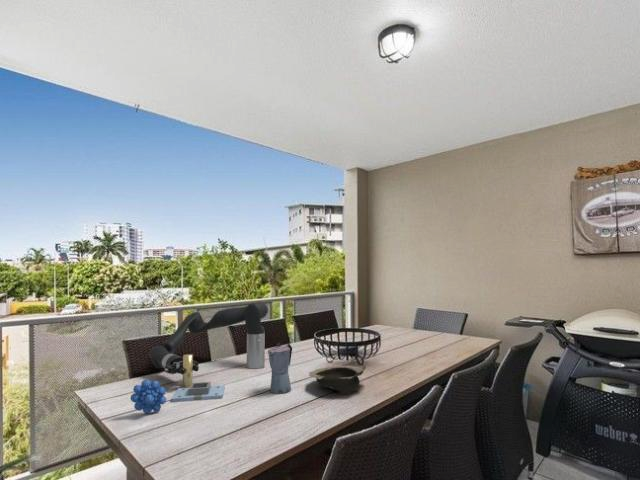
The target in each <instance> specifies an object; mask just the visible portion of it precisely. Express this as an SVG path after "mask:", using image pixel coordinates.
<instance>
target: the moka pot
mask: <svg viewBox="0 0 640 480" xmlns="http://www.w3.org/2000/svg"><path fill="white" fill-rule="evenodd" d="M281 344H282V343H281V342H280V341H279V342H277V343H276V346H274V347H270V348H268V350H267V353H268V354H267V355H268V359H269V367H270V369H271V377H270V378H271V379H270V380H271V381H270V390H269V391H270V392H271V393H272V394H276V395H279V394H285V393H288V392H290V391H291V390H292V385H291V381H290V380H291V379H290V374H289V366H291V359H292V353H293V347H292V346H291V344H290V343H288V344H285V345H281Z"/></svg>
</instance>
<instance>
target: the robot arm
mask: <svg viewBox="0 0 640 480" xmlns="http://www.w3.org/2000/svg"><path fill="white" fill-rule="evenodd" d="M268 313H269V307H268V306H267V303H265V302H263V301H256V302H250V303H249V304H247V306H243V307H242V306H241V307H240V306H239V307H230V308H225V309H221V310H217V312H215V313H214V315H213V316H212V317H211V319H210V320H209V321H208V322H205V320H204V319H203V317H202V315H201V313H200V312H197V311H196V312H192V313H190V314H188V315H187V316H186V317H184V319H183V320H182V322H181V323H180V325H179V326H178V327H177V329H176V330H175V331H174V332H173V333H172V335H171V336H170V337H168V338H167V339H166V340H165V341H164V342H163V343H162V346H161V345H155V346H154V347H152V348H151V349H150V351H149V352H148V355H149V356H148V357H149V359H150V360H151V363H152V364H153V366H154V368H156V369H161V368H163V369H164V373H167V374H171V375H175V374H176V375H177V374H180V375H182V376H183V374H184V371H185V370H184V369H183V356H182V355H178V354H176V353H175V352H176V350H178V348H180V346H181V345H182V344H183V343H184V340H185V336H186V333H187V331H189V333H190V334H192V335H196V334H200V333H203V332H206V331H210V330H215V329H218V328H224V327H229V326H233V325H236V324H240V323H242V322H245V323H244V325H245V328H246V368H248V369H252V370H253V369H254V370H256V369H261V368H265V367H266V366H265V363H266V362H265V361H266V360H265V359H266V358H265V357H266V355H265V354H266V353H265V351H266V349H265V347H266V346H265V341H266V340H265V338H266V337H265V335H266V334H265V333H266V331H265V327H264V326H263V325H262V322H261V321H262V319H264V318H265V317H266V316H267V314H268ZM199 368H200V367H199V362H198V361H197V360H195V359H193V371H194V372H198V371H199V370H200V369H199Z"/></svg>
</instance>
